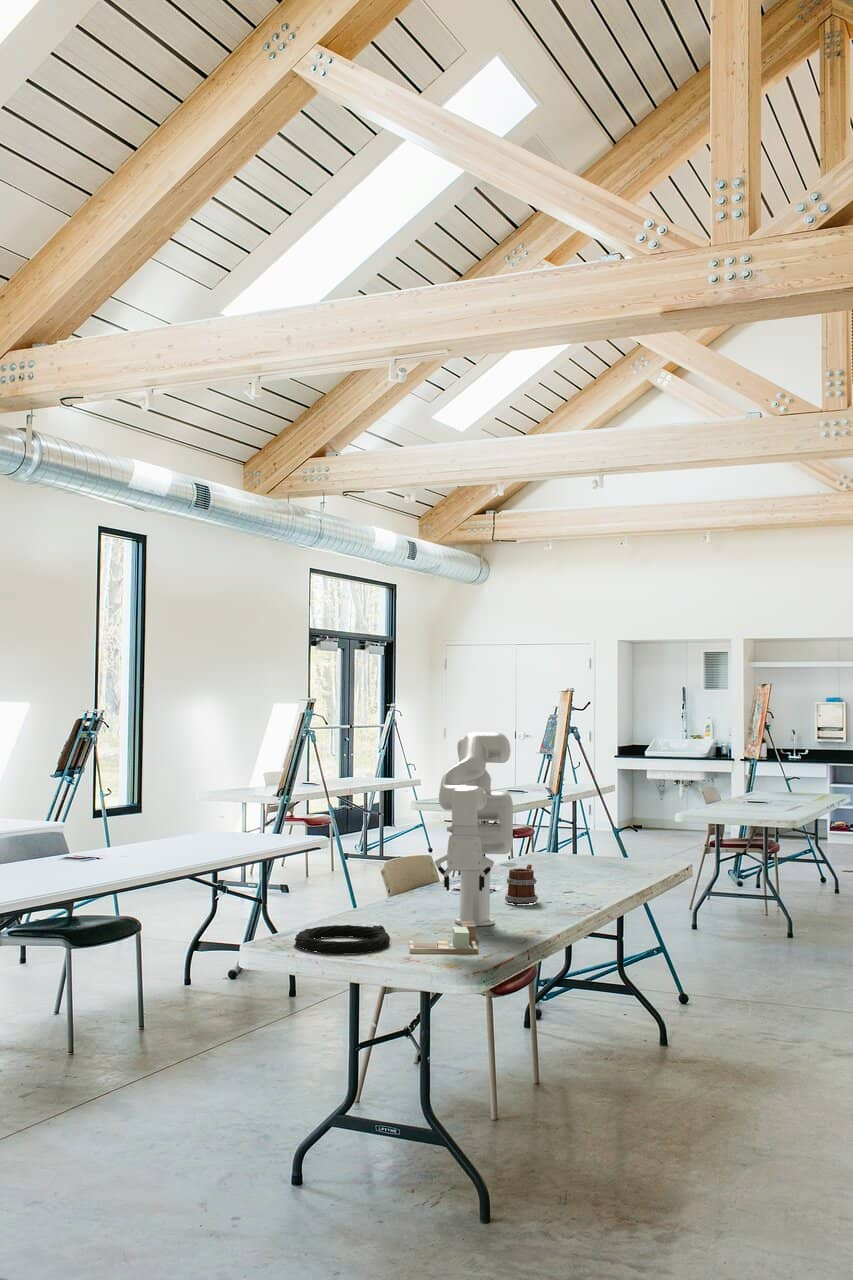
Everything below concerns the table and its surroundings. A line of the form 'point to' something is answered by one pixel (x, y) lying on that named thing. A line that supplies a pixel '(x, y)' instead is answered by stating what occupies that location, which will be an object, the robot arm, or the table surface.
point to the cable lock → (374, 933)
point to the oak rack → (441, 947)
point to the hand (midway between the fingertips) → (464, 890)
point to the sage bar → (460, 937)
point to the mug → (521, 886)
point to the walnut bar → (470, 929)
